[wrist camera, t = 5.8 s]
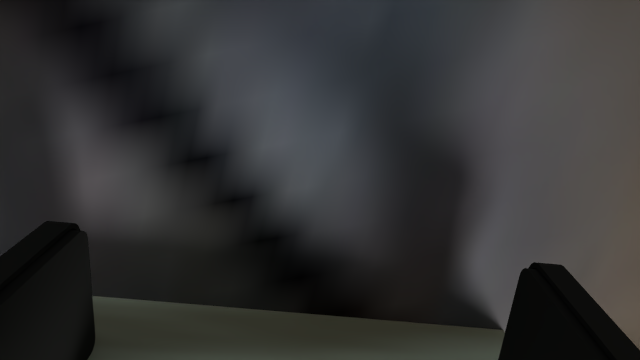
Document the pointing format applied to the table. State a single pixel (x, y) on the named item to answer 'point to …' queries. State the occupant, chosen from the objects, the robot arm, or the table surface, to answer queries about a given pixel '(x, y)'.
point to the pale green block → (273, 335)
